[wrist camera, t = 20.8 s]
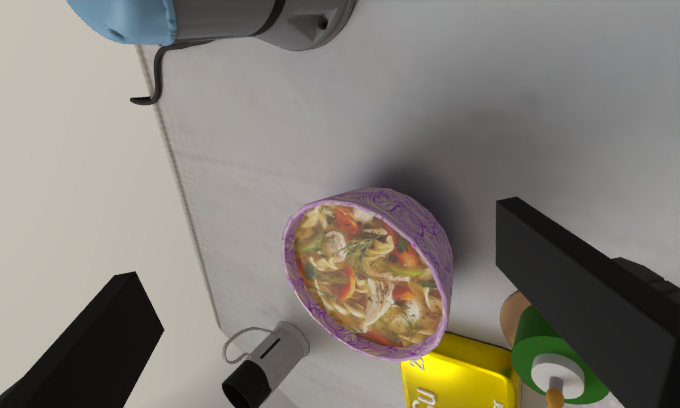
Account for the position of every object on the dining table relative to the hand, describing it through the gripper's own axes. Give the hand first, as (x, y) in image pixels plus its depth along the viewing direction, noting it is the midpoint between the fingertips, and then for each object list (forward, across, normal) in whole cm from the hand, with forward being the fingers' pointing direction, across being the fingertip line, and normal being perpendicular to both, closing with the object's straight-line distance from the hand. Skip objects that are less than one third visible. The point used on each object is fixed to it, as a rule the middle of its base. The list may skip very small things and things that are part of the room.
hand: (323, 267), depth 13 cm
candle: (+17, +22, -25) cm, 37 cm away
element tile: (+24, +14, -38) cm, 46 cm away
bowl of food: (+28, +8, -16) cm, 33 cm away
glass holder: (+45, -14, -42) cm, 63 cm away
